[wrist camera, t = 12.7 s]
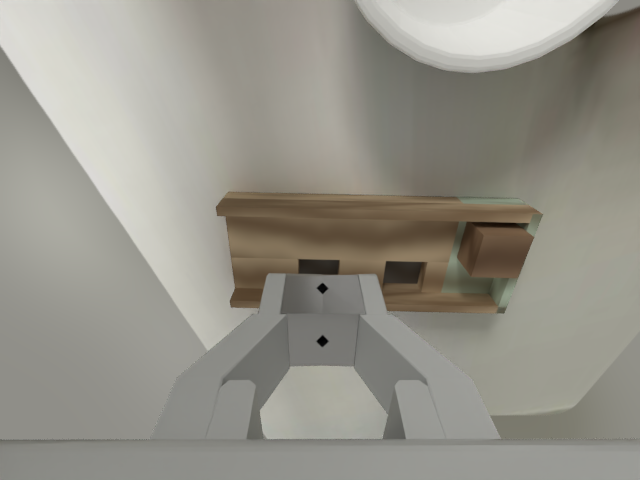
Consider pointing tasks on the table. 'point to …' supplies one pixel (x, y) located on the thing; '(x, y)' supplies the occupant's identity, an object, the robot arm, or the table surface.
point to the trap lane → (369, 245)
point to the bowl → (480, 29)
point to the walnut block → (494, 249)
